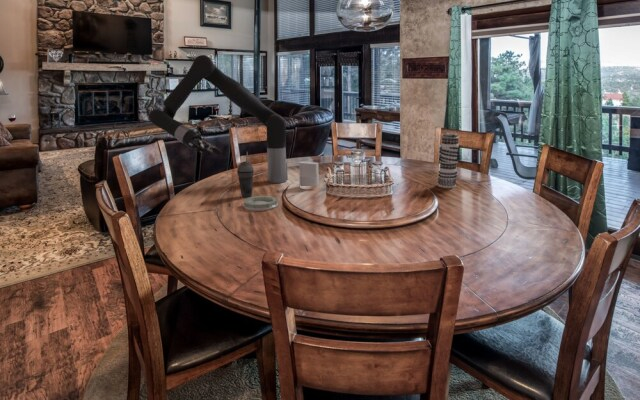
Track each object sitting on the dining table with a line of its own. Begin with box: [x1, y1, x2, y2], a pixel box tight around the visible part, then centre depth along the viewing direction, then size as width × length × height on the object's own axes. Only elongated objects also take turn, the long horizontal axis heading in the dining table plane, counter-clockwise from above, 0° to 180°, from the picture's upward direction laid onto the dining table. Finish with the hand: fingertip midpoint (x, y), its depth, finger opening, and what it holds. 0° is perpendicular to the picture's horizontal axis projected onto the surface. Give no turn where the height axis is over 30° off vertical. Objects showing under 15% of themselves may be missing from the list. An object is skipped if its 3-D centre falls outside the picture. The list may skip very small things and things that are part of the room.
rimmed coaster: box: [242, 195, 279, 212], centre depth 180 cm, size 14×14×2 cm
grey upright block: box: [298, 161, 319, 186], centre depth 208 cm, size 9×9×12 cm
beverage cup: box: [236, 151, 255, 199], centre depth 192 cm, size 7×7×20 cm
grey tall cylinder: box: [437, 132, 461, 189], centre depth 207 cm, size 9×9×25 cm
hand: (215, 154), depth 195 cm, fingers open, 8 cm apart
